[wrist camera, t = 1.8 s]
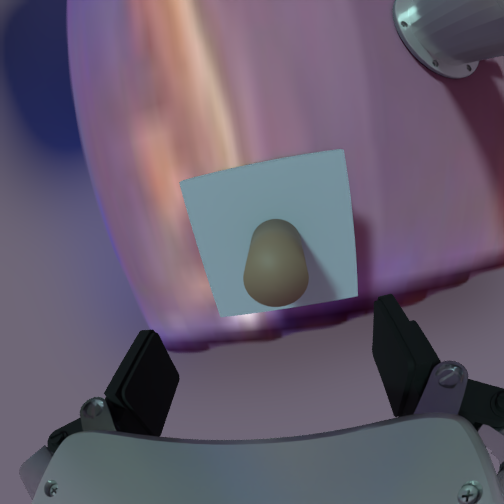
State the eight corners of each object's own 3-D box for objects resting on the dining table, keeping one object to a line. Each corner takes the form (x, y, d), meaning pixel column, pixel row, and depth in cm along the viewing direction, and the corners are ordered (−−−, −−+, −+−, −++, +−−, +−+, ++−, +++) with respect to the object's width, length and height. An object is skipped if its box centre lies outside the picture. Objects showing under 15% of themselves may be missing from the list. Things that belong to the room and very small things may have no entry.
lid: (340, 149, 18) (369, 156, 12) (355, 289, 23) (376, 339, 17) (183, 180, 20) (147, 200, 14) (222, 310, 24) (207, 362, 18)
